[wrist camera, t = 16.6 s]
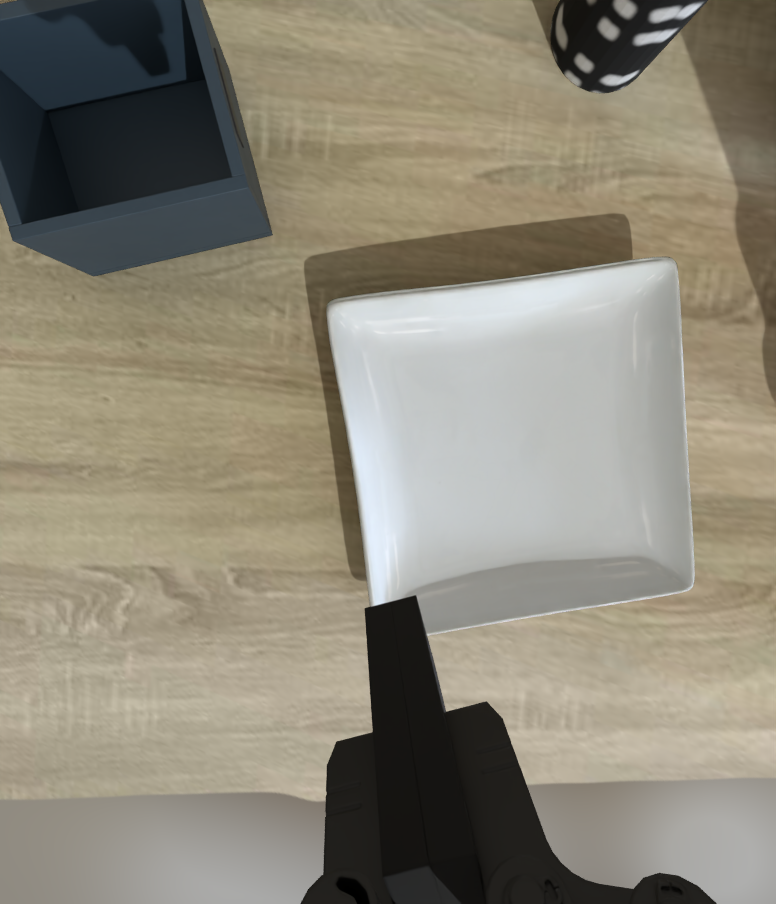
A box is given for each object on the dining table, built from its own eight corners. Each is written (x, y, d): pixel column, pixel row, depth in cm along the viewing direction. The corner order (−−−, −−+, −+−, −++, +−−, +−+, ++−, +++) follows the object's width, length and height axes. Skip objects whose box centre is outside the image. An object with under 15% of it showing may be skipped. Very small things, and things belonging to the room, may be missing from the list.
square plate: (650, 264, 40) (682, 251, 36) (669, 576, 44) (699, 594, 40) (325, 306, 39) (322, 297, 35) (373, 625, 42) (375, 649, 39)
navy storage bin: (250, 187, 29) (191, -36, 27) (10, 241, 28) (-66, 16, 27) (274, 234, 38) (230, 69, 36) (92, 277, 37) (39, 110, 35)
